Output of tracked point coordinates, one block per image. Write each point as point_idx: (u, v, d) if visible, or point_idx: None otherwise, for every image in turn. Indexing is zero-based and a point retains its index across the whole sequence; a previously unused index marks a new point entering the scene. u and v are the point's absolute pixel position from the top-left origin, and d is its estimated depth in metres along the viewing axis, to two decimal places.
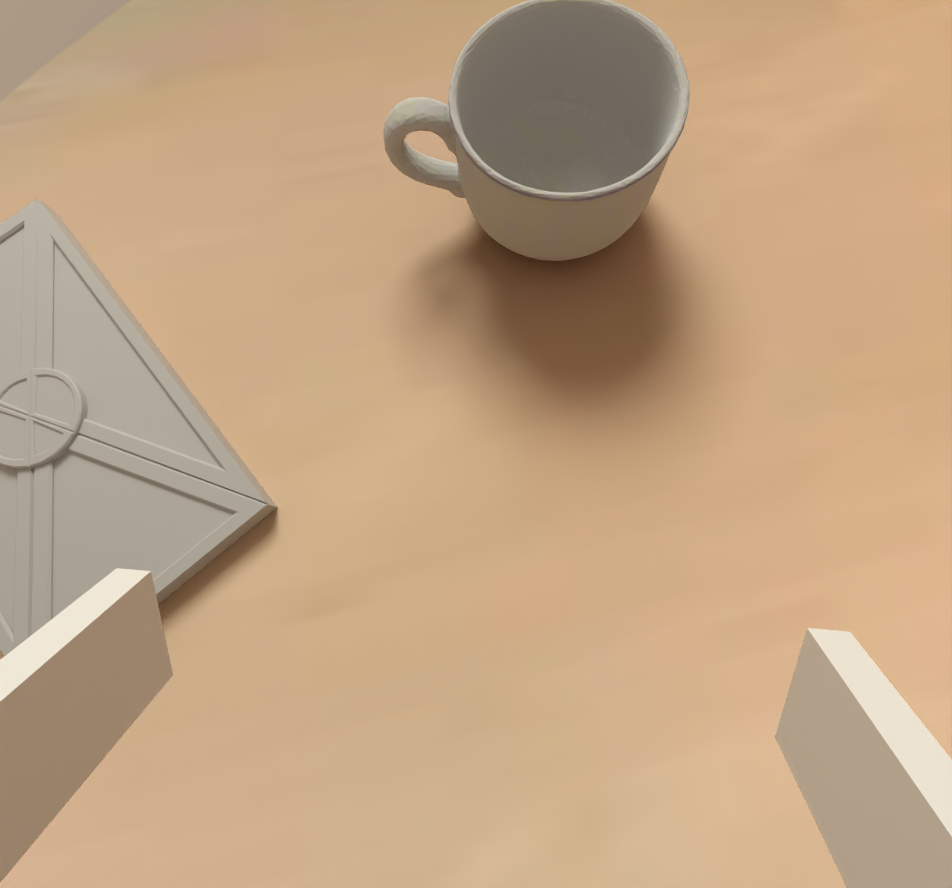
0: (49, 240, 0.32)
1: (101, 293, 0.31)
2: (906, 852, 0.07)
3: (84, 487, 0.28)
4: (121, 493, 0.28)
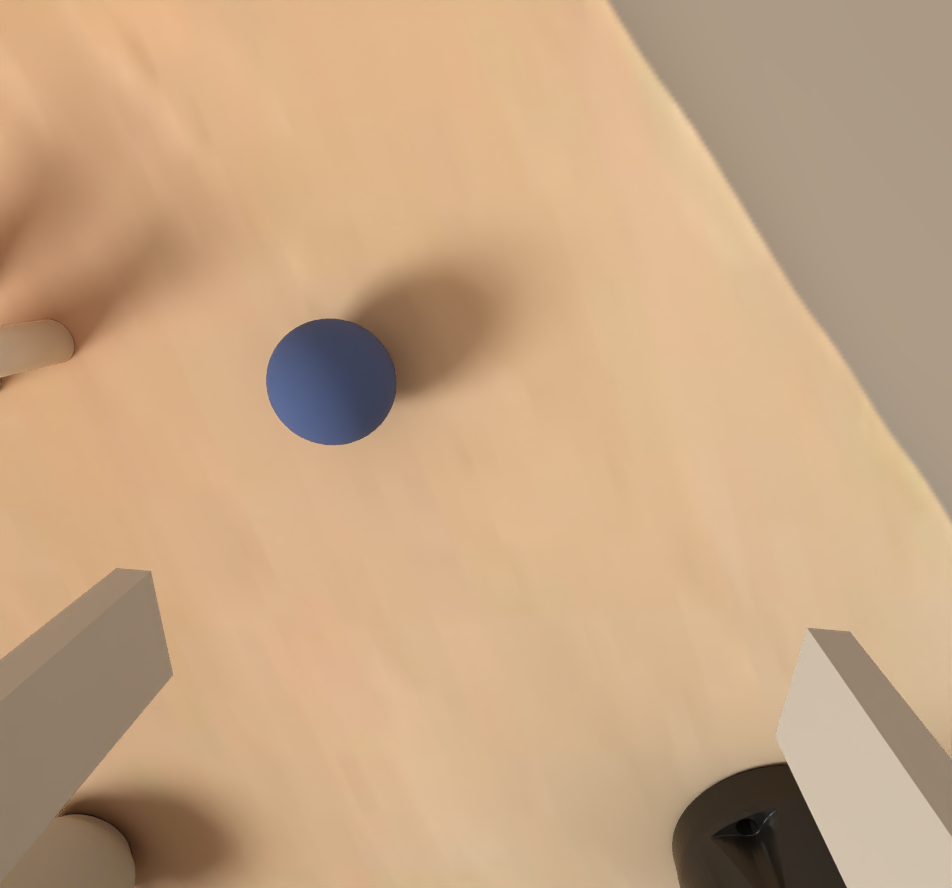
0: None
1: None
2: (905, 852, 0.07)
3: None
4: None
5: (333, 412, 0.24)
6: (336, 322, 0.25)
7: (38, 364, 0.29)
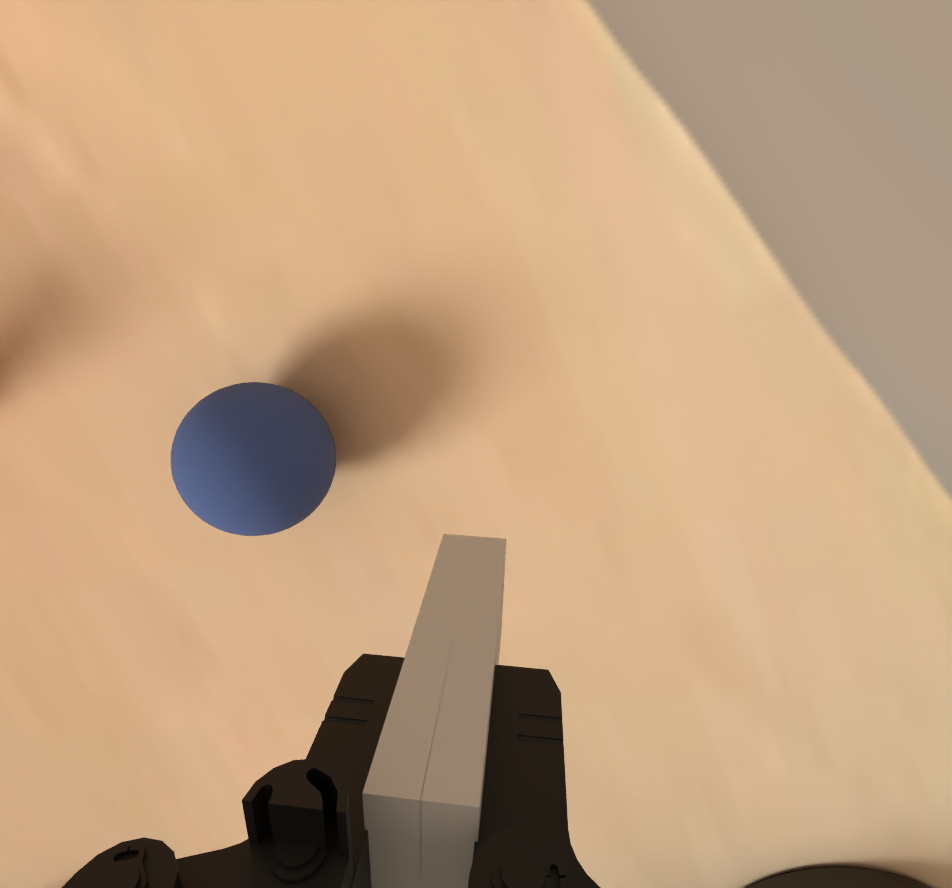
0: None
1: None
2: None
3: None
4: None
5: (249, 504, 0.19)
6: (253, 389, 0.20)
7: None
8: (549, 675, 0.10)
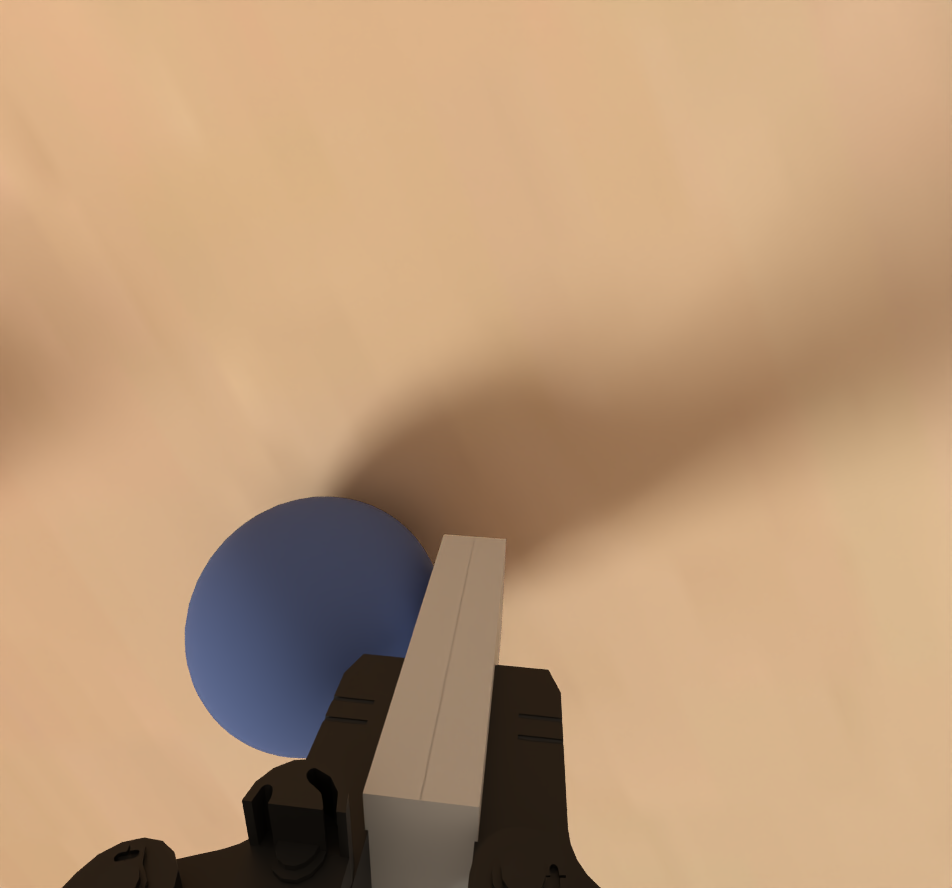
0: None
1: None
2: None
3: None
4: None
5: None
6: (317, 520, 0.12)
7: None
8: (549, 675, 0.10)
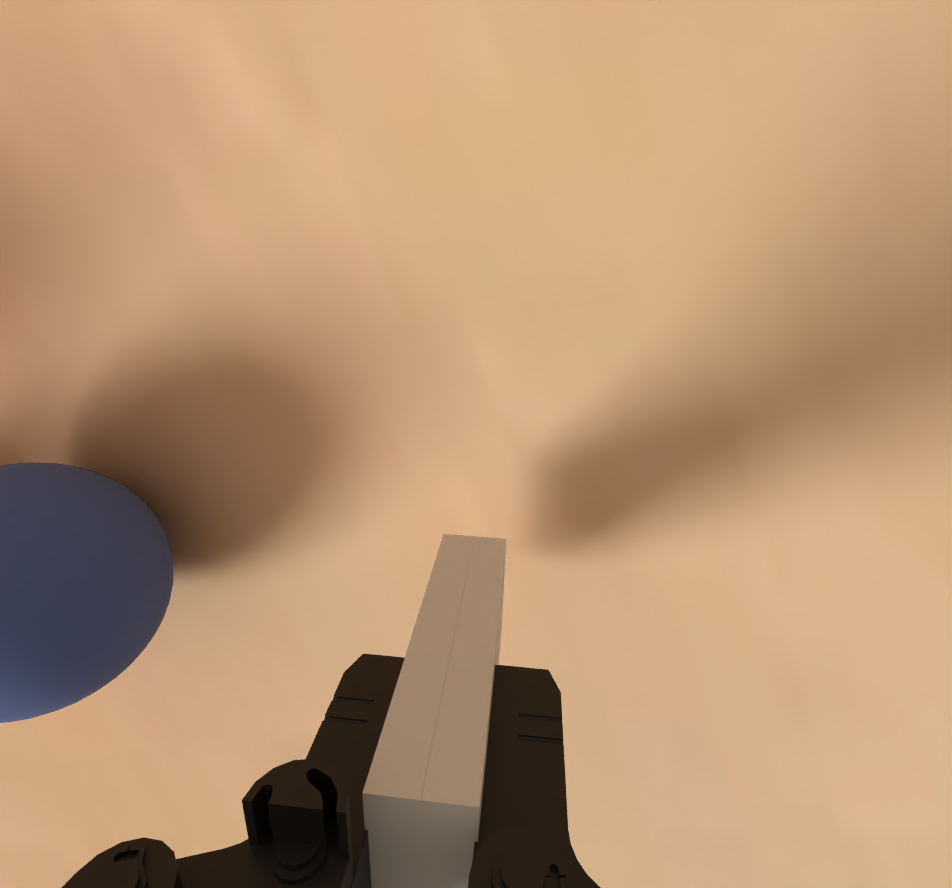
0: None
1: None
2: None
3: None
4: None
5: None
6: None
7: None
8: (549, 675, 0.10)
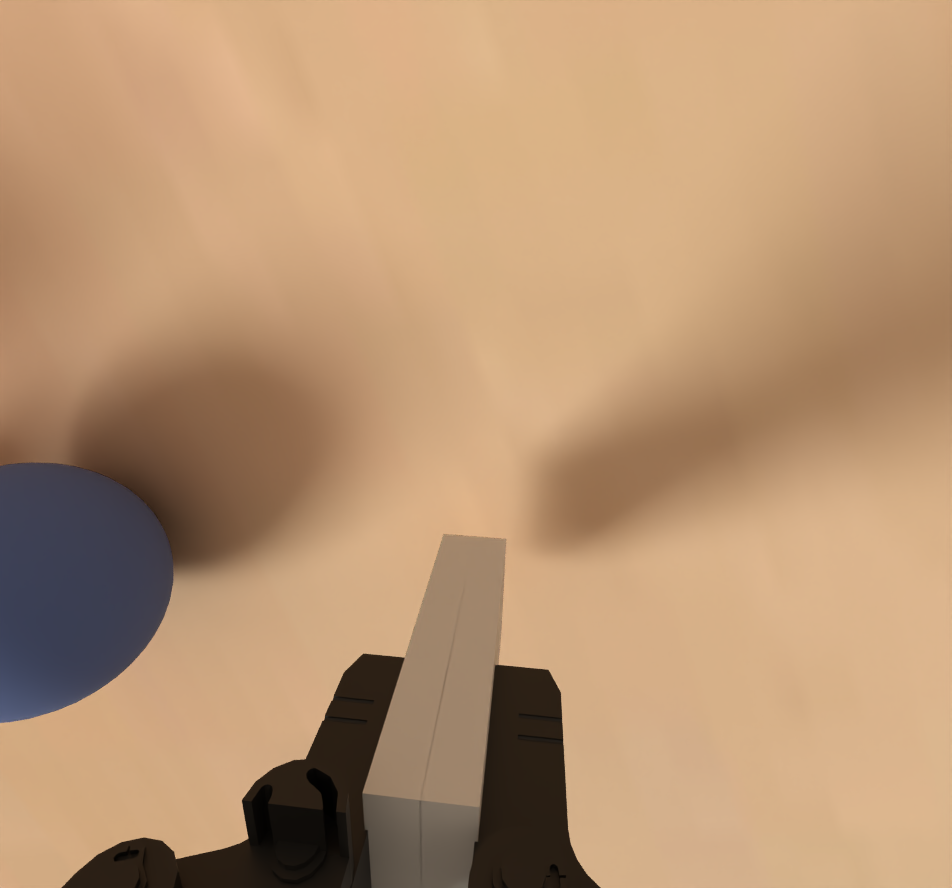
0: None
1: None
2: None
3: None
4: None
5: None
6: None
7: None
8: (549, 675, 0.10)
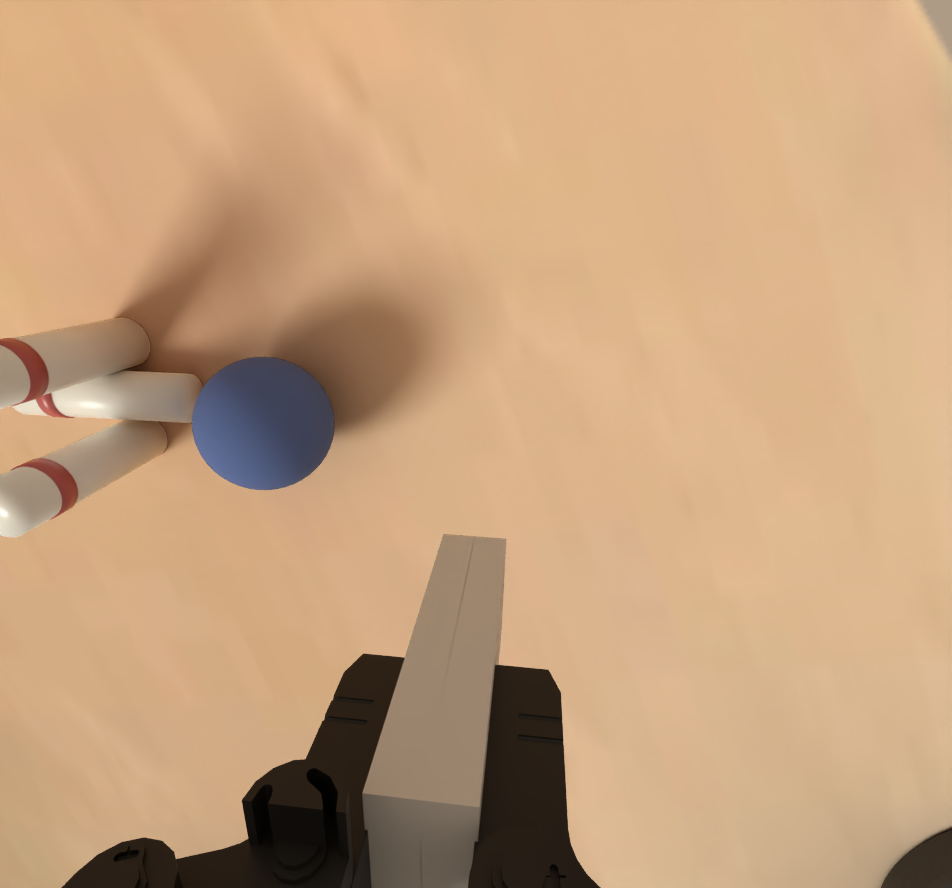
0: None
1: None
2: None
3: None
4: None
5: None
6: (256, 357, 0.24)
7: (139, 416, 0.26)
8: (549, 675, 0.10)
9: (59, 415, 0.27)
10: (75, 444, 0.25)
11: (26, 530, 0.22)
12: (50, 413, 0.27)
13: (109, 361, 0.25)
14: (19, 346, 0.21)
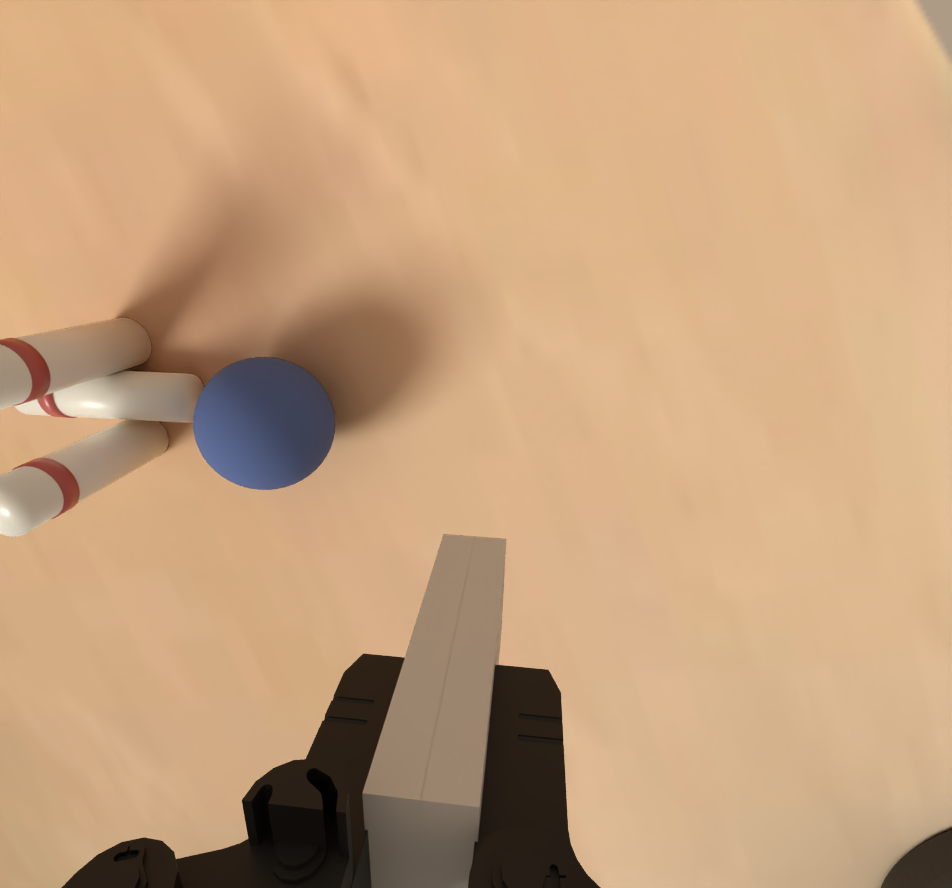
0: None
1: None
2: None
3: None
4: None
5: None
6: (257, 358, 0.24)
7: (140, 416, 0.27)
8: (549, 675, 0.10)
9: (60, 415, 0.27)
10: (76, 444, 0.25)
11: (28, 529, 0.22)
12: (51, 413, 0.27)
13: (110, 361, 0.25)
14: (20, 346, 0.21)
